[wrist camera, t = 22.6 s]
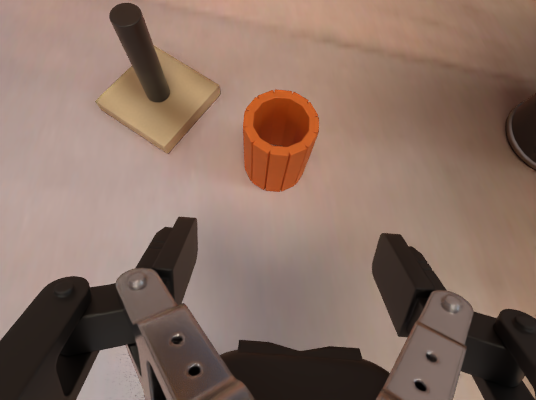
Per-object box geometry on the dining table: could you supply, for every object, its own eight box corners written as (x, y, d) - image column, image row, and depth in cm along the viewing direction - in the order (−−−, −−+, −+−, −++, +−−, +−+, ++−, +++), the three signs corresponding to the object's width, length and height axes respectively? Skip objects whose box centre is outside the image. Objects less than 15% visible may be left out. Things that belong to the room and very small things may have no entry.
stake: (156, 54, 37) (120, -45, 27) (220, 94, 36) (208, 5, 26) (101, 109, 35) (36, 23, 24) (167, 154, 33) (130, 83, 23)
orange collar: (266, 128, 35) (271, 77, 27) (314, 157, 34) (332, 114, 26) (233, 170, 33) (228, 128, 26) (282, 202, 32) (292, 169, 25)
